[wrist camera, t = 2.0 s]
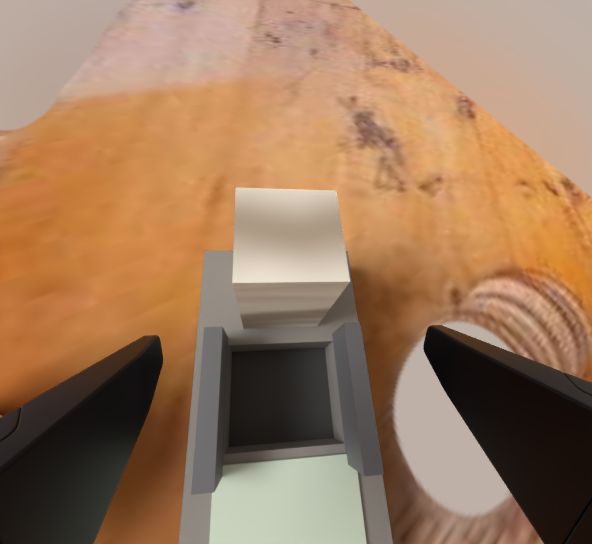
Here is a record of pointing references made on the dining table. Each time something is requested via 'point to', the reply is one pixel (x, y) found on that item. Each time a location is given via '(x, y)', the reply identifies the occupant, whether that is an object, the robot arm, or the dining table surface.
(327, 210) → the cream block
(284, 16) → the dining table surface
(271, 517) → the tunnel deck
